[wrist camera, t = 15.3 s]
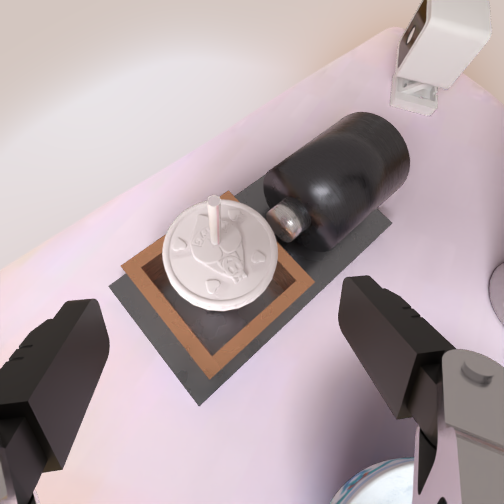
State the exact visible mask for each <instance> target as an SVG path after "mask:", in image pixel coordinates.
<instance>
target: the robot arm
mask: <svg viewBox="0 0 504 504" xmlns="http://www.w3.org/2000/svg"><path fill="white" fill-rule="evenodd" d="M489 290H490V299H491V302H492V305H493V308H494V310H495V312H496V314H497V316H498V318H499V319H500V321H501V322H502V324H503V325H504V263H502V264H501V265H500V266H498V267H497V268H496V270H495V271H494V272H493V274H492V277H491V279H490V287H489ZM338 321H339V326H340V329H341V331H342V333H343V335H344V336H345V338H346V340H347V341H348V343H349V344H350V346H351V348H352V349H353V351H354V352H355V354H356V356H357V357H358V359H359V360H360V362H361V364H362V365H363V367H364V368H365V370H366V372H367V373H368V375H369V376H370V378H371V380H372V381H373V383H374V384H375V386H376V387H377V389H378V391H379V392H380V394H381V395H382V397H383V399H384V400H385V402H386V403H387V405H388V407H389V408H390V410H391V411H392V413H393V415H394V416H395V418H396V419H403V418H410V417H413V418H414V419H415V421H416V422H417V424H418V426H417V429H416V433H415V454H414V476H413V497H412V504H504V367H503V366H501V365H500V364H498V363H497V362H495V361H494V360H492V359H490V358H488V357H486V356H484V355H482V354H479V353H476V352H473V351H469V350H463V349H456V348H455V347H454V346H453V345H452V344H451V343H450V342H448V341H447V340H446V339H445V338H444V337H443V336H442V335H441V334H440V333H439V332H438V331H437V330H436V329H434V328H433V327H432V326H431V325H430V324H429V323H428V322H427V321H426V320H425V319H424V318H423V317H420V315H419V314H418V313H417V312H416V311H415V310H414V309H411V306H410V305H409V304H408V303H407V302H406V301H404V300H403V299H402V298H401V297H400V296H398V295H397V294H395V293H393V292H391V291H389V290H387V289H385V288H384V289H382V288H381V287H380V286H379V285H378V284H377V283H376V282H375V281H374V280H373V279H372V278H371V277H370V276H367V275H366V276H355V277H346V278H345V279H344V281H343V285H342V292H341V299H340V306H339V313H338ZM109 347H110V345H109V337H108V333H107V330H106V326H105V323H104V319H103V316H102V312H101V309H100V306H99V303H98V301H97V300H96V299H84V300H72V301H67V302H65V304H64V305H63V306H62V307H61V309H60V310H59V311H58V313H57V314H56V315H55V317H54V318H53V319H48V320H46V321H45V322H43V323H42V324H41V325H39V326H38V327H37V328H35V329H34V330H33V331H31V332H30V333H29V334H28V336H27V337H26V338H25V339H24V341H23V342H22V343H21V344H20V346H19V349H16V351H15V352H14V353H13V354H12V355H11V357H10V358H9V361H8V362H6V363H5V364H4V365H3V367H2V368H1V369H0V504H40V501H39V497H38V494H37V492H36V490H35V487H36V485H37V483H38V480H39V478H40V476H41V474H42V473H44V472H50V471H57V470H63V467H64V465H65V462H66V460H67V457H68V455H69V452H70V450H71V447H72V445H73V442H74V440H75V437H76V435H77V433H78V430H79V428H80V425H81V423H82V420H83V418H84V415H85V413H86V410H87V408H88V405H89V403H90V400H91V398H92V395H93V393H94V390H95V388H96V386H97V383H98V381H99V378H100V376H101V373H102V371H103V368H104V366H105V363H106V361H107V358H108V355H109Z"/></svg>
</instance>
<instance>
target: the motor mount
mask: <svg viewBox="0 0 504 504" xmlns="http://www.w3.org/2000/svg"><path fill="white" fill-rule="evenodd" d="M409 168H410V157H409V152H408V149H407V146H406V143H405V141H404V139H403V138H402V136H401V134H400V133H399V132H398V130H397V129H396V128H395V127H394V126H393V125H392V124H391V123H389V122H388V121H387V120H385V119H384V118H382V117H380V116H378V115H375V114H372V113H367V112H357V113H352V114H350V115H347V116H346V117H344V118H343V119H341V120H340V121H338V122H337V123H336V124H334V125H333V126H331V127H330V128H329V129H327V130H326V131H324V132H323V133H322V134H320V135H319V136H317V137H316V138H315V139H313V140H312V141H310V142H309V143H307V144H306V145H305V146H303V147H302V148H300V149H299V150H298V151H296V152H295V153H293V154H292V155H291V156H289V157H288V158H286V159H285V160H284V161H282V162H281V163H279V164H278V165H277V166H275V167H274V168H272V169H271V170H269V171H268V172H267V173H266V174H265V175H264V176H263V177H261V178H260V179H258V180H257V181H255V182H254V183H253V184H251V185H250V186H248V187H247V188H246V189H244V190H243V191H241V192H240V193H239V194H237V195H236V196H233V195H232V194H231V193H230V191H227V192H226V193H224V194H223V195H221V196H220V199H224V200H232V201H236V202H240V203H242V204H245V205H247V206H249V207H251V208H253V209H254V210H255V211H257V212H258V213H259V214H260V215H261V216H262V217H263V218H264V219H265V220H266V221H267V222H268V224H269V225H270V227H271V228H272V230H273V232H274V235H275V238H276V241H277V246H278V260H277V265H276V269H275V272H274V275H273V278H272V280H271V282H270V283H269V285H268V286H267V288H266V289H265V291H264V292H263V293H262V294H261V295H260V296H259V297H257V298H256V299H255V300H254V301H253V302H251V303H249V304H247V305H245V306H243V307H241V308H237V309H232V310H227V311H215V310H207V309H204V308H201V307H198V306H195V305H193V304H191V303H190V302H189V301H187V300H186V299H184V298H183V297H181V296H180V295H179V293H178V292H177V291H176V290H175V288H174V287H173V286H172V285H171V283H170V280H169V278H168V276H167V273H166V271H165V268H164V264H163V256H162V251H163V243H164V239H165V236H166V235H164V236H163V237H161V238H160V239H158V240H157V241H156V242H154V243H153V244H151V245H150V246H148V247H147V248H146V249H144V250H143V251H141V252H140V253H138V254H137V255H136V256H134V257H133V258H131V259H130V260H128V261H127V262H126V263H124V264H123V265H121V267H122V268H123V270H124V271H125V272H126V274H125V275H123V276H122V277H121V278H119V279H118V280H116V281H115V282H114V283H112V284H111V285H109V288H110V289H111V290H112V292H113V293H114V294H115V296H116V297H117V298H118V300H119V301H120V302H121V304H122V305H123V306H124V308H125V309H126V310H127V312H128V313H129V314H130V316H131V317H132V318H133V320H134V321H135V322H136V324H137V325H138V326H139V328H140V329H141V330H142V332H143V333H144V334H145V336H146V337H147V338H148V339H149V341H150V342H151V343H152V345H153V346H154V347H155V349H156V350H157V351H158V353H159V354H160V355H161V357H162V358H163V359H164V361H165V362H166V363H167V365H168V366H169V367H170V369H171V370H172V371H173V373H174V374H175V375H176V377H177V378H178V379H179V381H180V382H181V383H182V385H183V386H184V387H185V389H186V390H187V391H188V393H189V394H190V395H191V396H192V398H193V399H194V400H195V402H196V403H197V404H198V406H200V405H201V404H202V403H203V402H204V401H205V400H207V399H208V398H209V397H210V396H211V395H212V394H213V393H214V392H215V391H216V390H217V389H218V388H219V387H220V386H221V385H222V384H223V383H224V382H225V381H227V380H228V379H229V378H230V377H231V376H232V375H233V374H234V373H235V372H236V371H237V370H238V369H239V368H240V367H241V366H242V365H243V364H244V363H246V362H247V361H248V360H249V359H250V358H251V357H252V356H253V355H254V354H255V353H256V352H257V351H258V350H259V349H260V348H261V347H262V346H263V345H264V344H266V343H267V342H268V341H269V340H270V339H271V338H272V337H273V336H274V335H275V334H276V333H277V332H278V331H279V330H280V329H281V328H282V327H283V326H285V325H286V324H287V323H288V322H289V321H290V320H291V319H292V318H293V317H294V316H295V315H296V314H297V313H298V312H299V311H300V310H301V309H302V308H303V307H305V306H306V305H307V304H308V303H309V302H310V301H311V300H312V299H313V298H314V297H315V296H316V295H317V294H318V293H319V292H320V291H321V290H322V289H324V288H325V287H326V286H327V285H328V284H329V283H330V282H331V281H332V280H333V279H334V278H335V277H336V276H337V275H338V274H339V273H340V272H341V271H342V270H344V269H345V268H346V267H347V266H348V265H349V264H350V263H351V262H352V261H353V260H354V259H355V258H356V257H357V256H358V255H359V254H360V253H361V252H363V251H364V250H365V249H366V248H367V247H368V246H369V245H370V244H371V243H372V242H373V241H374V240H375V239H376V238H377V237H378V236H379V235H380V234H381V233H383V232H384V231H385V230H386V229H387V228H388V227H389V226H390V225H391V224H392V222H391V221H390V220H389V219H387V218H386V217H385V216H384V215H383V214H382V213H381V212H380V211H379V210H378V209H377V208H378V207H379V206H380V205H381V204H382V203H383V202H384V201H385V200H387V199H388V198H389V197H390V196H391V195H392V194H393V193H394V192H395V191H397V190H398V189H399V188H400V187H401V186H402V185H403V183H404V182H405V180H406V178H407V176H408V173H409Z"/></svg>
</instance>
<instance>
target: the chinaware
mask: <svg viewBox="0 0 504 504" xmlns="http://www.w3.org/2000/svg"><path fill="white" fill-rule="evenodd" d="M413 476H414V458H397V459H391V460H387V461H383V462H380V463H377V464H374V465H372V466H369V467H367V468H365V469H364V470H362V471H360V472H359V473H357V474H356V475H355V476H353V477H352V478H351V479H350V480H348V481H347V482H346V483H345V484H344V485H343V486H342V487H341V489H340V490H339V491H338V492H337V493H336V495H335V496H334V497H333V499H332V500H331V502H330V504H412V497H413Z"/></svg>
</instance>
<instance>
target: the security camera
mask: <svg viewBox="0 0 504 504" xmlns="http://www.w3.org/2000/svg"><path fill="white" fill-rule="evenodd" d="M491 34H492V25H491V14H490V2H489V0H422V1H421V3H420V5H419V7H418V9H417V10H416V12H415V14H414V16H413V18H412V19H411V21H410V23H409V25H408V27H407V28H406V30H405V32H404V34H403V35H402V37H401V39H400V41H399V44H398V47H397V57H396V68H395V74H394V76H393V77H392V87H391V97H390V106H392V107H396V108H400V109H403V110H407V111H411V112H414V113H418V114H422V115H426V116H431V115H432V114H433V113H434V111H435V110H436V109H437V108H438V95H436V93H438V87H439V88H442V89H444V90H447V89H449V88H450V86H451V85H452V84H453V83H454V82H455V80H456V79H457V78H458V77H459V76H460V75H461V73H462V72H463V71H464V69H466V67H467V66H468V65H469V64H470V63H471V61H472V60H473V59H474V58H475V57H476V55H477V54H478V53H479V52H480V51H481V50H482V48H483V47H484V46H485V45H486V43H487V42H488V40H489V39H490V37H491ZM420 97H422V98H420Z"/></svg>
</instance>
